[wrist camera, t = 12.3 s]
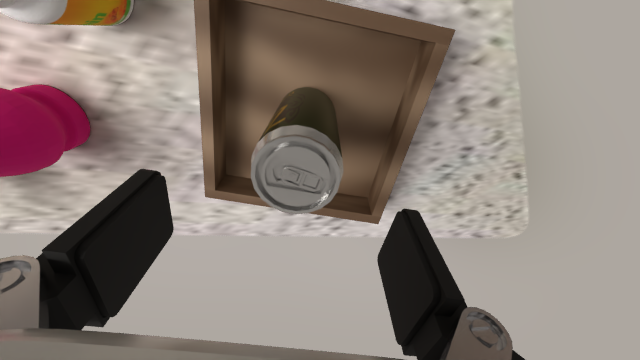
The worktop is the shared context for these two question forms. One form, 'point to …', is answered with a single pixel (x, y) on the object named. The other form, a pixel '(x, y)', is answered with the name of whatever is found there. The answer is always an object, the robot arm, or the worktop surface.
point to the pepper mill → (38, 128)
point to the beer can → (299, 154)
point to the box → (316, 72)
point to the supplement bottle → (68, 11)
